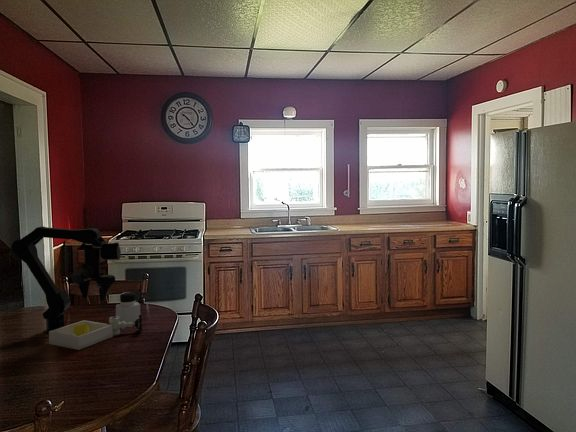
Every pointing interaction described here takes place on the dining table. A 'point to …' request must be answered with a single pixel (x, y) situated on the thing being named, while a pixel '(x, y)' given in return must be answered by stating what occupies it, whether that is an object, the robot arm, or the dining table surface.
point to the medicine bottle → (128, 308)
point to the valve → (123, 324)
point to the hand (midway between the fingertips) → (93, 299)
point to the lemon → (81, 329)
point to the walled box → (69, 340)
